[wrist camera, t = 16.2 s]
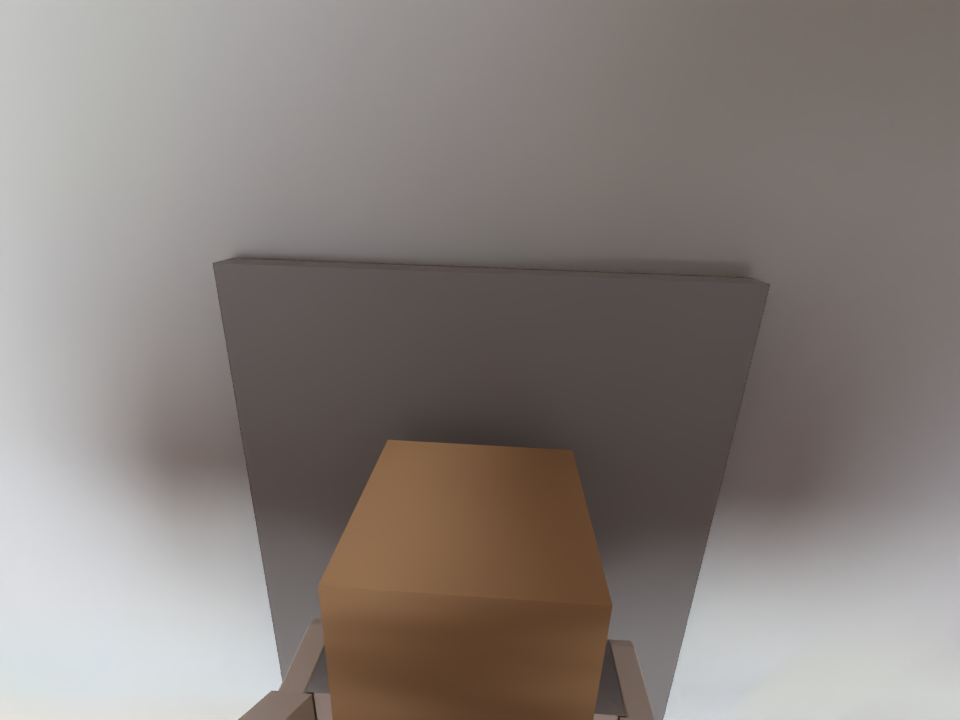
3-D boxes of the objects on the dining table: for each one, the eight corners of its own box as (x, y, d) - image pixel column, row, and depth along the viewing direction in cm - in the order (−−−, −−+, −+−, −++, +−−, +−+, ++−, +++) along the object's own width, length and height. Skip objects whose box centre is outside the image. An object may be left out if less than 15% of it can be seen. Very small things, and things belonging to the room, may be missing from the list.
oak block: (358, 953, 10) (317, 585, 6) (399, 742, 14) (387, 439, 10) (549, 973, 10) (612, 606, 6) (537, 754, 13) (572, 450, 10)
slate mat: (751, 277, 11) (769, 284, 10) (644, 741, 16) (651, 768, 15) (232, 257, 11) (213, 262, 10) (302, 715, 17) (292, 740, 16)
